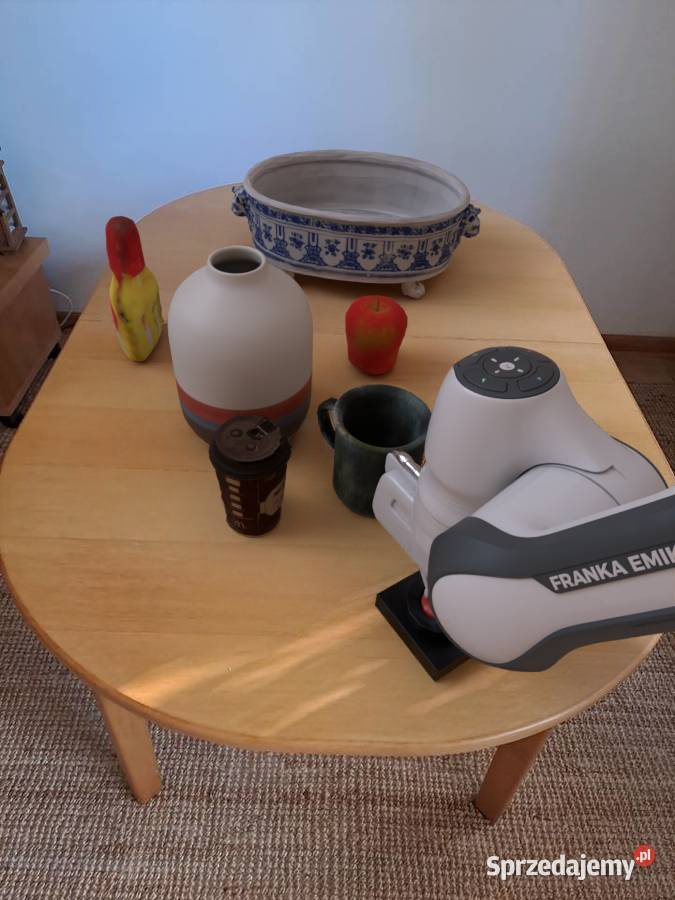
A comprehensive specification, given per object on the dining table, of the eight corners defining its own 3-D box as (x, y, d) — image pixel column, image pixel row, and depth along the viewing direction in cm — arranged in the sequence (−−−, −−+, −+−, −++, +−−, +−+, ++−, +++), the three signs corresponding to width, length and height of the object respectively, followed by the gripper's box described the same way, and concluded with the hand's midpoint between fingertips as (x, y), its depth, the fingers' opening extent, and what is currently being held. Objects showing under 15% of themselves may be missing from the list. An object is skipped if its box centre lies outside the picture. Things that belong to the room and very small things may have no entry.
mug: (384, 539, 77) (396, 467, 68) (289, 476, 83) (289, 403, 74) (436, 485, 83) (453, 413, 74) (344, 430, 89) (350, 358, 80)
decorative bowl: (217, 292, 110) (209, 205, 100) (246, 217, 129) (241, 137, 118) (475, 314, 109) (495, 228, 99) (466, 235, 128) (482, 156, 117)
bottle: (156, 370, 96) (131, 241, 81) (111, 368, 96) (79, 239, 81) (171, 322, 104) (152, 197, 90) (130, 320, 104) (104, 195, 90)
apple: (332, 373, 97) (336, 303, 89) (357, 342, 103) (362, 274, 94) (387, 391, 95) (396, 322, 86) (409, 359, 100) (419, 291, 92)
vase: (291, 477, 82) (290, 315, 66) (162, 450, 85) (129, 287, 68) (324, 391, 94) (331, 235, 77) (210, 369, 96) (192, 213, 80)
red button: (462, 616, 67) (465, 607, 66) (434, 633, 66) (437, 624, 65) (439, 590, 69) (442, 580, 68) (412, 606, 68) (414, 596, 67)
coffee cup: (292, 488, 81) (291, 408, 72) (293, 544, 75) (292, 465, 66) (219, 489, 81) (209, 409, 71) (215, 546, 75) (203, 466, 66)
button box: (495, 642, 68) (504, 622, 65) (434, 682, 65) (440, 662, 62) (433, 571, 74) (439, 550, 71) (374, 605, 70) (377, 583, 68)
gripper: (363, 452, 61) (353, 544, 71) (522, 623, 49) (484, 704, 59) (417, 428, 64) (400, 520, 73) (580, 585, 52) (535, 669, 62)
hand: (439, 603), depth 66 cm, fingers closed, pressing on red button
